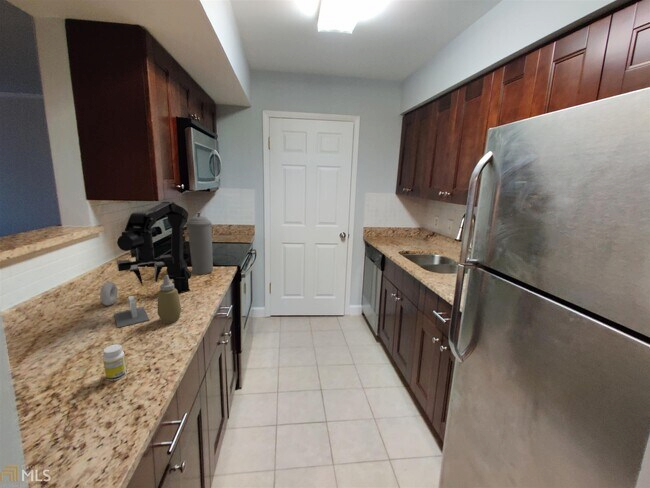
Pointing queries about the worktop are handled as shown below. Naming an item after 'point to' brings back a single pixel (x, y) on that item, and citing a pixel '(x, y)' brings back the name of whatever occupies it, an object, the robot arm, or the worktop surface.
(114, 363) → the supplement bottle
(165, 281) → the squeeze bottle
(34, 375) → the worktop surface
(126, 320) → the mat
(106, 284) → the donut
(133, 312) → the tile
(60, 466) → the worktop surface
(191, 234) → the canister
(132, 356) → the worktop surface
